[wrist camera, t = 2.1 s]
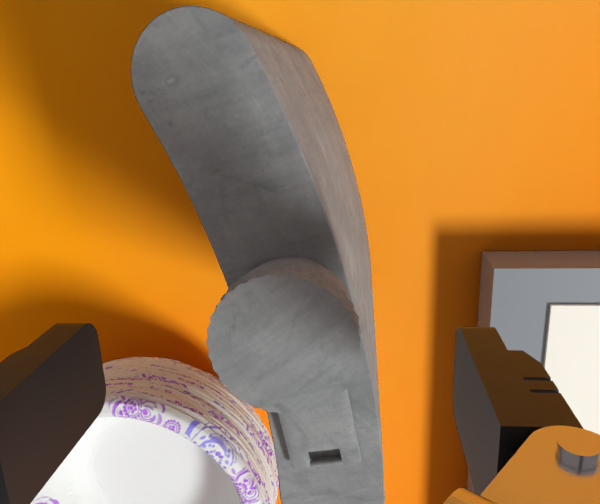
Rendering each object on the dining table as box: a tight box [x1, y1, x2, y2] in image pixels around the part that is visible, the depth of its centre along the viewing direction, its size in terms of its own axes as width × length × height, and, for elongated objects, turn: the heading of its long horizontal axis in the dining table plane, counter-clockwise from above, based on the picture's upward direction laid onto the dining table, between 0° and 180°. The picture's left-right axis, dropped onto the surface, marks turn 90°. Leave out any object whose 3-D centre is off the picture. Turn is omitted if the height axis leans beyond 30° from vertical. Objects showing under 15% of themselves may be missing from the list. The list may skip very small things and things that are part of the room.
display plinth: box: [467, 251, 600, 493], centre depth 33 cm, size 22×12×3 cm, turn 2°
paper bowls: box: [31, 357, 279, 504], centre depth 34 cm, size 15×15×8 cm
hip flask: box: [131, 6, 385, 504], centre depth 22 cm, size 16×4×20 cm, turn 16°
